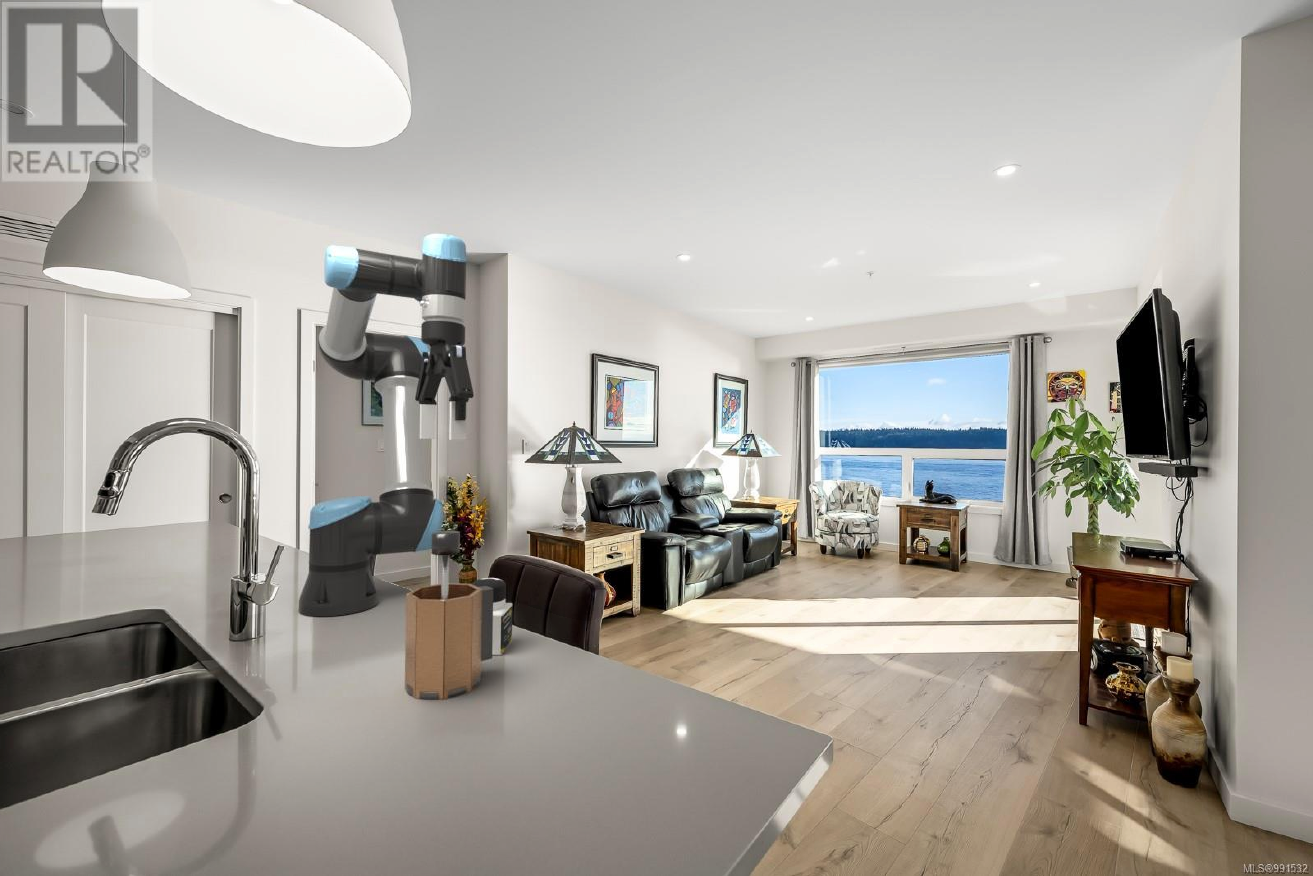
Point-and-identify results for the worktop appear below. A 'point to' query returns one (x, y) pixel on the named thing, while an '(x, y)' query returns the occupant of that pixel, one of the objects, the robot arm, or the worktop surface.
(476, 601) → the press carafe
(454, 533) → the plunger
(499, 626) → the medicine bottle
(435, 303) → the robot arm
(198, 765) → the worktop surface
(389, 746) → the worktop surface
